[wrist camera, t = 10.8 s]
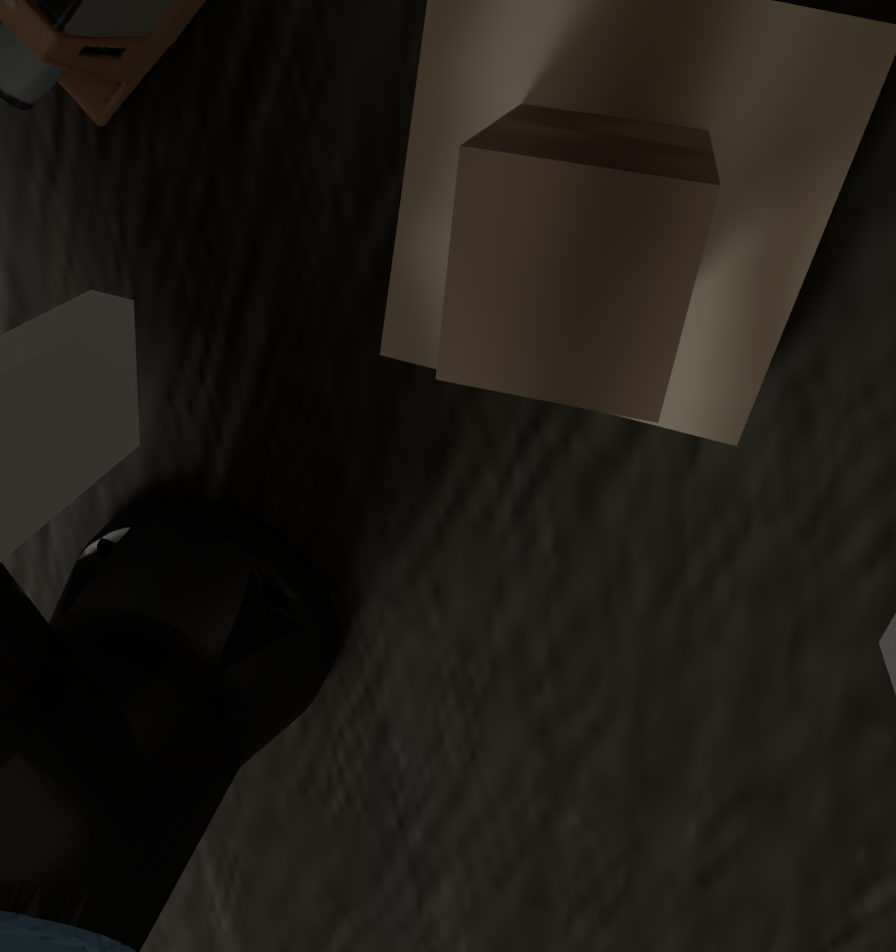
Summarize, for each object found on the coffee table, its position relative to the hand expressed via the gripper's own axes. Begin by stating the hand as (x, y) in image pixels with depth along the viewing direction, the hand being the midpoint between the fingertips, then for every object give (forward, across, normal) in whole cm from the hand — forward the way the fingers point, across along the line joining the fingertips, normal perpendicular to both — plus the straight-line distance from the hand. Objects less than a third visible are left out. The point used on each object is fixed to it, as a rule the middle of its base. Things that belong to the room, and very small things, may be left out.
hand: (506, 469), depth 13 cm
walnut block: (+18, 0, 0) cm, 18 cm away
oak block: (+23, 0, 0) cm, 23 cm away
